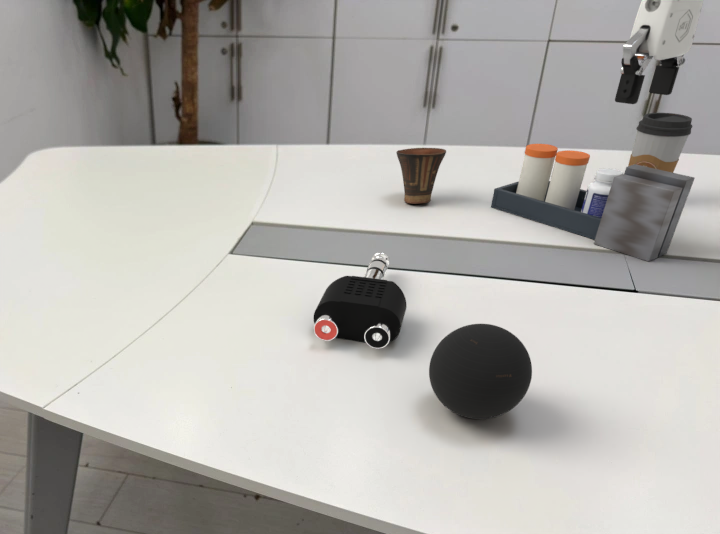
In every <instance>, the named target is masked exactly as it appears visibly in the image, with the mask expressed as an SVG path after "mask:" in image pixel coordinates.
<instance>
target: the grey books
mask: <svg viewBox="0 0 720 534" xmlns="http://www.w3.org/2000/svg"><path fill="white" fill-rule="evenodd" d="M695 178H696V177H694V176H690V175H686V174H680V173H676V172H673V173H672V172H667V171H663V170H658V169H654V168H649V167H645V166H640V165H636V164H634V165H631V166H628V165H627V166H626V167H625V170H624V172H623V174H621V175H618V176H615V177H614V179H613V182H612V185H611V189H610V192H609V195H608V198H607V202H606V205H605V208H604V212H603V215H602V218H601V221H600V225H599V228H598V231H597V234H596V238H595V240H594V242H593V245H595V246H599V247H602V248H605V249H608V250H610V251H614V252H618V253H620V254H624V255H626V256H627V255H628V256H630V257H633V258H637V259H640V260H642V261H646V262H651V261H653V260H655V259H657V258H660V257H662V256H664V255H667V254H668V251H669V248H670V246H671V243H672V240H673V237H674V235H675V233H676V230H677V227H678V224H679V221H680V218H681V216H682V213H683V210H684V208H685V205H686V203H687V200H688V198H689V196H690V192H691V189H692V188H693V187H692V186H693V184H694V181H695Z"/></svg>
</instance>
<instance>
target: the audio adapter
mask: <svg viewBox="0 0 720 534" xmlns="http://www.w3.org/2000/svg"><path fill="white" fill-rule="evenodd" d="M370 259H371V260H370V262H369V263H368V266H367V268H366V270H365V273H364V275H363V276H357V275H343V276H341V277H339V278H337V279H335V280H333V281H332V282H331V283H330V284H329V285H328V286H327V287H326V289H325V290H324V293H323V294H322V296H321V299H320V300H319V303H318V305H317V306H316V308H315V310H314V312H313V324H314V325H313V332H314V335H315V336H316V337H317V338H318V339H320V340H322V341H325V342H330V341H332V340H334V339H341V340H345V341H347V340H348V341H353V342H354V341H355V342H359V343H360V342H361V343H366V345H368V347H370V348H372V349H377V350H378V349H383V348H385V347H387V346H388V345H389V344H390V343H392V342H393V341H395V340H396V339H397V337H398V336H399V335H400V333H401V328H402V325H403V322H404V319H405V318H404V317H405V315H406V311H407V299H406V296H405V294H404V292H403V290H402V289H401V287H400V286H399V285H398V284H397V283H396V282H395V281H393V280H388V279H385V276H386V274H387V271H388V267H389V265H390V263H391V261H390V257H389V255H388V254H386V253H385V252H376V253H374V254H373V255H372V257H371V258H370Z"/></svg>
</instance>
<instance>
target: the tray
mask: <svg viewBox="0 0 720 534" xmlns="http://www.w3.org/2000/svg"><path fill="white" fill-rule="evenodd" d="M518 183H519V180H518V181H515V182H512V183H509V184H505V185H502V186H500V187H496V188H494V190H493V193H492V194H493V195H492V199H491V202H490V203H491V204H490V208H493V209H496V210H498V211H502V212H505V213H508V214H512V215H514V216H518V217H520V218H524V219H527V220H531V221H534V222H536V223H540V224H543V225H547V226H550V227H553V228H557V229H559V230H563V231H565V232H569V233H572V234H574V235H578V236H582V237H584V238H588V239H590V240H594V241H595V238H596V234H597V231H598V228H599V225H600V221H601V218H600V217H596V216H593V215H589V214H586V213H582V212H581V209H582V206H583V203H584V199H585V195H586V192H587V189H582V188H580V191H579V195H578V199H577V202H576V206H575V209H574V210H572V209H569V208H565V207H562V206H558V205H555V204H551V203H548V202H545V200H546V196H547V192H548V188H549V184H550V180H549V183H548V187H547V191H546V195H545V199H544V201H541V200H537V199H534V198H530V197H527V196H523V195H520V194H516V191H517V187H518Z"/></svg>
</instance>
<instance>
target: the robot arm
mask: <svg viewBox="0 0 720 534" xmlns="http://www.w3.org/2000/svg"><path fill="white" fill-rule="evenodd" d="M703 5H704V0H641V2H640V4H639V7H638V9H637V13H636V16H635V19H634V21H633V26H632V29H631V33H630V37H629V39H628V40H627V41H626V42H625V43H623V46H622V58H621V68H620V71H619V72H620V73H619V74H620V79H619V82H618V86H617V89H616V93H615V96H614V97H615V98H614V101H615V103H621V104H628V105H635V104H638V102H639V99H640V95H641V92H642V88H643V84H644V81H645V77H646V75H645V74H643V73H644V72H645V71H646V69H647V67H648V66H649V64H650V63H651V61H652V59H654V60H655V61H659V65H655V69H654V72H653V76H652V79H651V81H650V87H649V89H648V92H649V94H654V95H663V96H669V95H671V94H672V92H673V89H674V86H675V83H676V79H677V76H678V74H679V70H680V67H681V66H682V64H683V61H684V59H683V57H684V55H686V54H687V53H689V52H690V51H691V49H692V45H693V42H694V38H695V35H696V32H697V28H698V24H699V21H700V17H701V12H702V10H703V9H702V7H703ZM639 61H640V62H639Z"/></svg>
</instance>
